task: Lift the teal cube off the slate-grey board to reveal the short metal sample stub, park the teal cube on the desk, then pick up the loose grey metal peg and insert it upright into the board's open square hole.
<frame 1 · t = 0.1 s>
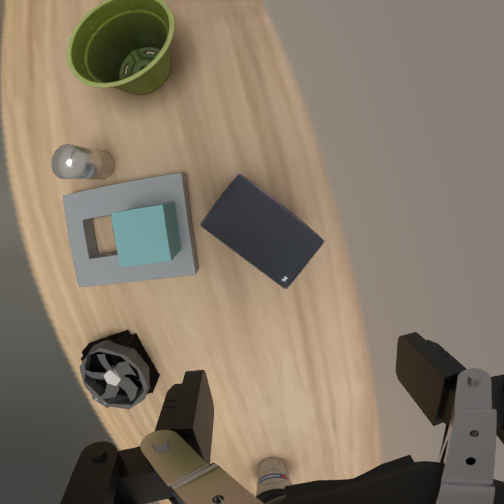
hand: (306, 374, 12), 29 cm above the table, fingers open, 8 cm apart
cpu cooler: (123, 360, 44), on the table
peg: (102, 165, 38), on the table
plant pot: (145, 70, 36), on the table
coffee cup: (271, 464, 49), on the table
small box: (257, 221, 40), on the table
teal cube: (155, 228, 37), point 3 cm above the table, touching peg board
peg board: (131, 230, 39), on the table
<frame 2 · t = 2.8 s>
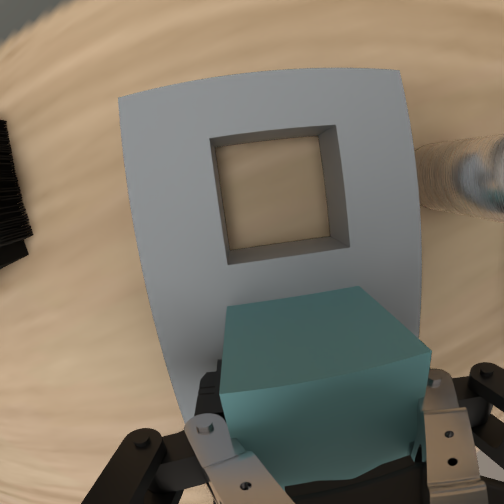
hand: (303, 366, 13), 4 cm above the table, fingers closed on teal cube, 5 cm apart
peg: (433, 176, 15), on the table
teal cube: (300, 354, 14), point 3 cm above the table, touching gripper, peg board
peg board: (282, 253, 16), on the table
when the fingers open (2 cm above the table, at t = 7.9 s): teal cube stays where it is, on the table.
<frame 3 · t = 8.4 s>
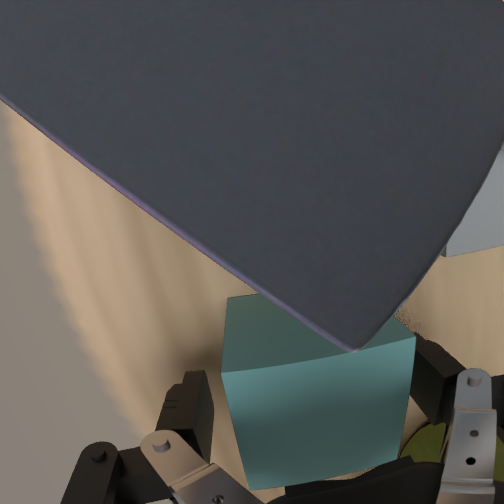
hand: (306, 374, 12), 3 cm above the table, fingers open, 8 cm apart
plant pot: (438, 439, 17), on the table
small box: (215, 106, 13), on the table
teal cube: (296, 344, 15), on the table
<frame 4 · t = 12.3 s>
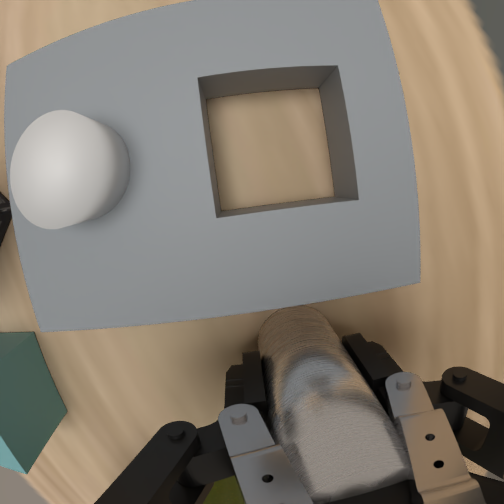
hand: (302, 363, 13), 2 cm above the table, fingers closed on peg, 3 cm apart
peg: (295, 340, 15), on the table, touching gripper
plant pot: (205, 491, 18), on the table
teal cube: (19, 372, 15), on the table
peg board: (201, 155, 13), on the table
when the fingers open (4 cm above the table, at t = 16.9 s): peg drops 1 cm, resting in peg board.
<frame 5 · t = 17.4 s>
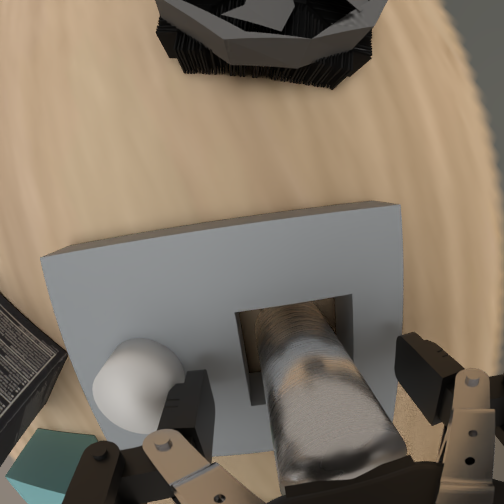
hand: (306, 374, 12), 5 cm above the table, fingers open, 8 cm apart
cpu cooler: (266, 9, 14), on the table
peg: (289, 327, 17), resting in peg board
small box: (1, 332, 16), on the table
teal cube: (79, 457, 18), on the table
peg board: (232, 335, 17), on the table
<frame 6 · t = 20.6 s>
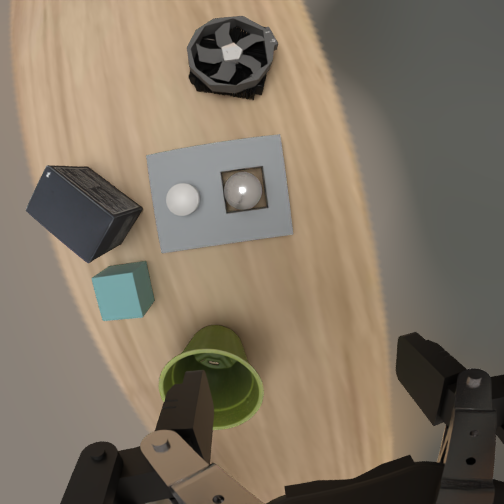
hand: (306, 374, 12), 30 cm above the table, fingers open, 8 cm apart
cpu cooler: (232, 65, 37), on the table
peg: (243, 189, 40), resting in peg board
plant pot: (216, 347, 45), on the table
small box: (102, 205, 40), on the table
teal cube: (131, 283, 42), on the table
peg board: (220, 192, 40), on the table
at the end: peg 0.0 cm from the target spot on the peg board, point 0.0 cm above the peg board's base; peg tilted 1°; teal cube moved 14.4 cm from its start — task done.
